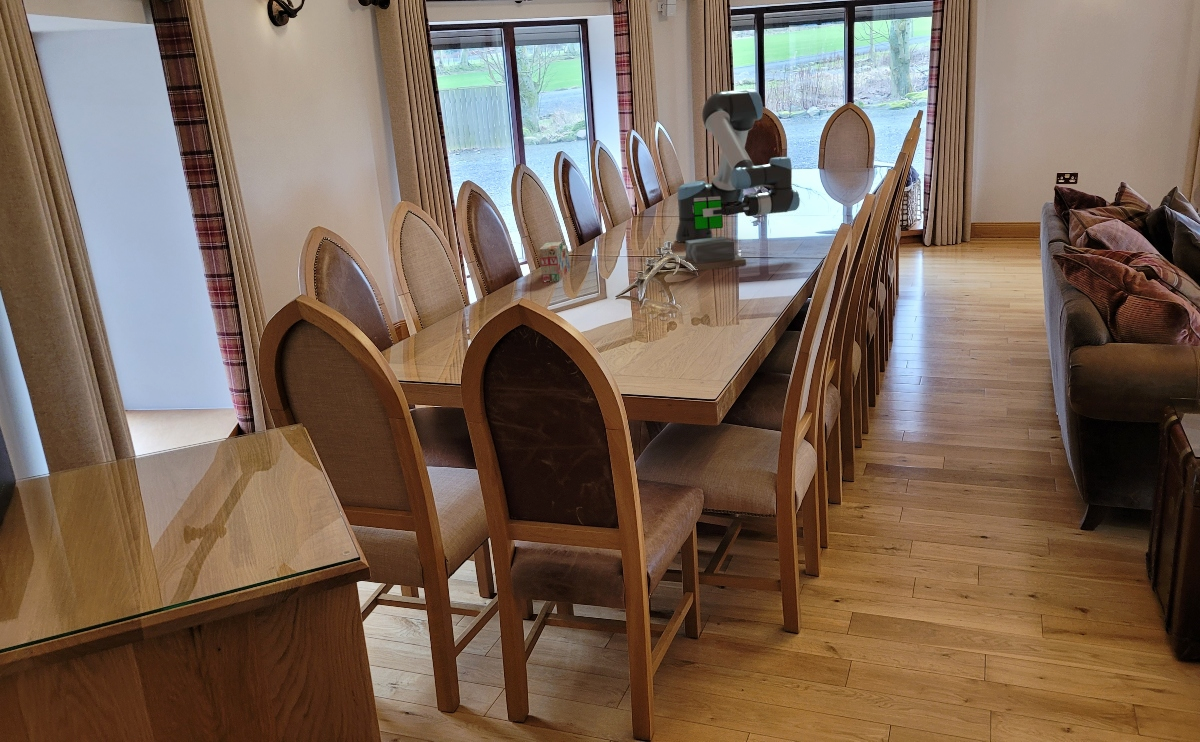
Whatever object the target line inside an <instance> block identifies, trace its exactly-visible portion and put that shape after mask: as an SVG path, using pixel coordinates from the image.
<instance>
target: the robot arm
mask: <svg viewBox="0 0 1200 742" xmlns="http://www.w3.org/2000/svg"><path fill="white" fill-rule="evenodd" d="M701 112H702V113H701V115H702V116H701V118H702V122H703V125H704V126H705V128H706V130H707V131H708V132H710V133H712V136H713V138H714V139H715V141H716V143H717V145H718V146H719V148H720V150H721V153H720V158H719V162H718V163H719V164H718V168H717V172H716V174H714V175H713V177H712V178H711V183H706V181H704V180H697V181H691V182H687V183H684V184H682V185H680V186H678V188H677V206H678V208H677V209H678V220H679V221H678V222H679V223H678V226H677V229H676V230H677V231H676V235H675V241H676V240H677V241H680V242H679V243H683V242H685V241H688V240H696V239H705V238H713V232H712V229H709V228H708V229H701V230H695V228H694V210H693V199H694V198H705V197H706V198H708V197H718V196H720V197H721V200H722V209H721V207H718V208H709V209H703V217H710V216H718V215H722V216H727V217H728V216H731V215H736V214H737V215H738V214H743V213H744V214H745V216H746V217H753V216H754V217H755V216H757V215H758V216H760V215H762V216H763V217H765V216H766V215H768V214H779V213H788V212H792V211H794V212H795V211H797V210H798V209H799V206H800V203H801V199H800V193H799V192H798V191H797V190H796V189H793V188H792V187H793V186H792V185H793V184H792V183H793V181H792V180H793V179H792V177H793V176H792V174H793V173H792V172H793V170H792V161H791V158H790V157H788V156H779V157H771V158H770V159H769V162H768V164H761V165H755V164H754V163H753V161H752V159H751V158H750V156H749V154H748V152H747V151H746V143H747V138H748V133H749V131H750V130H753V128H754V124H755V121H760V120H761V119H762V118H763V115H764V114H763V113H764V106H763V100H762V97H761V95H760V92H758V91H757V90H756V89H753V88H751V89H750V88H748V89H747V88H744V89H739V90H728V91H718V92H715V93H713V94H711V95H710V96H709V97H708V98H707V100H706V101H705V103H704V104H703V107H702V111H701ZM760 187H761V188H763V187H770V192H762V193H761V192H760V193H756V194H753V193H751V194H746V195H744V190H747V189H748V190H749V189H754V188H760ZM677 241H676V242H677Z"/></svg>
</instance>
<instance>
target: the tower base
mask: <svg viewBox="0 0 1200 742" xmlns="http://www.w3.org/2000/svg"><path fill="white" fill-rule="evenodd" d="M735 251H736V250H735V241H732V240H730V239H728V238H726V237H724V236H715V237H712V238H705V239H696V240H688V241H685V255H679V256H678V257H679V258H680V259H682V260H685V261H686V262H689V263H691V264H692V265H693V266H695V267H697V268H698V270H699V271H708V270H713V269H723V268H730V267H731V268H732V267H739V266H746V265H747V260H746V258H744V257H742V256H740V255H738V254H736V253H735Z"/></svg>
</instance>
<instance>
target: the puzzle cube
mask: <svg viewBox="0 0 1200 742" xmlns="http://www.w3.org/2000/svg"><path fill="white" fill-rule="evenodd" d="M718 207H721V209H722V200H721V197H720V196H718V197H708V198H706V197H705V198H694V199H693V210H694V228H695V230H701V229H708V228H709V229H711V230H712V229H714V230H715V229H723V228H724V222H723V219H724V217H723V216H724V215H718V216H710V217H703V209H709V208H718Z"/></svg>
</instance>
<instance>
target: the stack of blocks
mask: <svg viewBox="0 0 1200 742" xmlns="http://www.w3.org/2000/svg"><path fill="white" fill-rule="evenodd" d="M538 250H539V258H540V268H541V279H542V280H541V281H542V283H545V282H544V281H560V282H561V279H562V280H563V278H564V277H565V276H566V274H567V273H568V272H569V271H570V270H571V269H570V257H569V252H568V251H569V249H568V245H564V244H563V241H552V242H545V243H544V244H543V245H542V246H541V247H540V248H539V249H538ZM569 269H570V270H569ZM566 272H567V273H566ZM564 275H565V276H564Z"/></svg>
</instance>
